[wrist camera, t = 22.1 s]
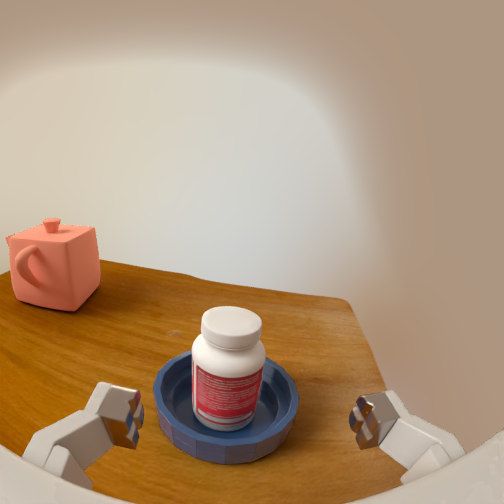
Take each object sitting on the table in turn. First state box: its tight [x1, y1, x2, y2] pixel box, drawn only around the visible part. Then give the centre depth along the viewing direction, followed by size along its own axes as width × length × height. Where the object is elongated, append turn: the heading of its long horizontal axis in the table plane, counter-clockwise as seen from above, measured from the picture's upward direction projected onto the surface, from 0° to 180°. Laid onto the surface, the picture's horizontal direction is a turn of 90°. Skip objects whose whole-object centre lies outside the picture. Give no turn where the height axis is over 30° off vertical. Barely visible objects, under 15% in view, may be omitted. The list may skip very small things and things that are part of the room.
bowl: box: [153, 350, 299, 464], centre depth 23 cm, size 13×14×4 cm
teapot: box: [6, 218, 100, 311], centre depth 38 cm, size 20×22×14 cm
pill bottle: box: [192, 306, 266, 432], centre depth 22 cm, size 6×6×11 cm
